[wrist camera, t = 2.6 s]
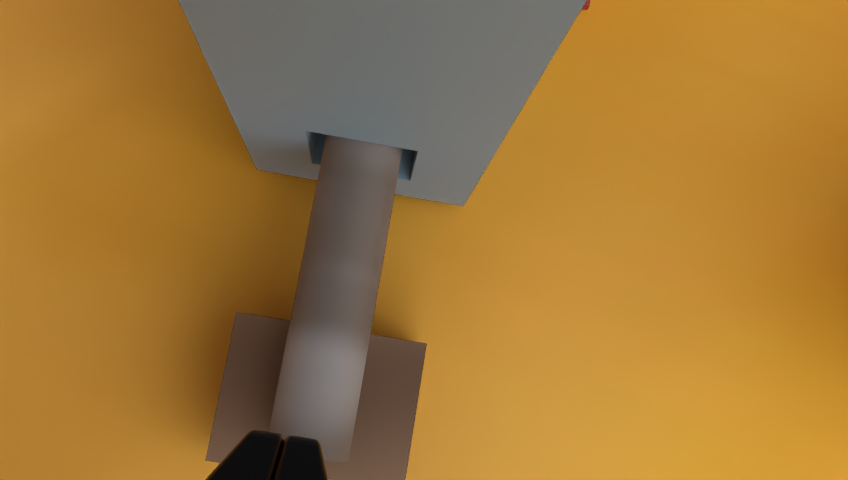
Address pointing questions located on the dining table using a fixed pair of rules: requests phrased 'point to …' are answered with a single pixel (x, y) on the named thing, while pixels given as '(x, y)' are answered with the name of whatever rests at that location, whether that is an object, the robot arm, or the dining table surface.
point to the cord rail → (331, 335)
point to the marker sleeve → (380, 79)
